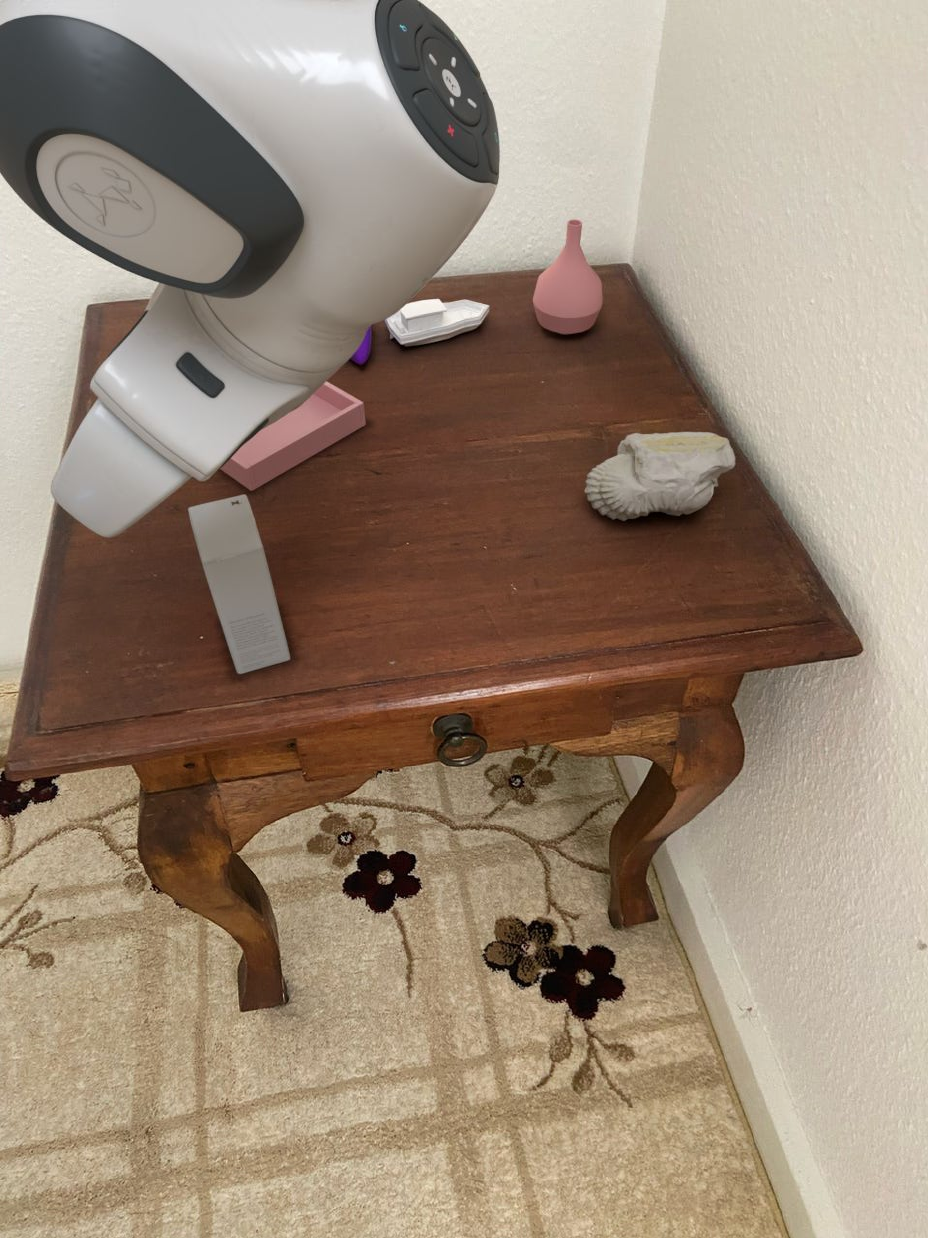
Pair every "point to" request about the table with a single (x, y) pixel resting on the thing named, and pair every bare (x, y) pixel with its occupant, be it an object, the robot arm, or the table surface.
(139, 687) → the table surface
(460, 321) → the white toy boat
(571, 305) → the pink vase
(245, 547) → the cosmetic box
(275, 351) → the robot arm
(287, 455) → the tray
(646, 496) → the fossil replica
